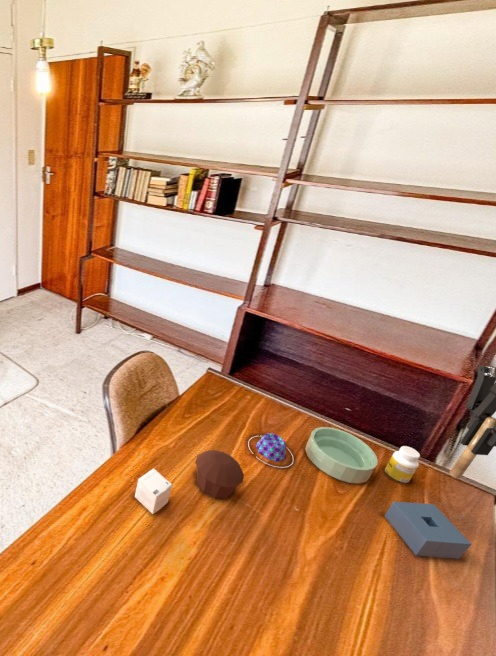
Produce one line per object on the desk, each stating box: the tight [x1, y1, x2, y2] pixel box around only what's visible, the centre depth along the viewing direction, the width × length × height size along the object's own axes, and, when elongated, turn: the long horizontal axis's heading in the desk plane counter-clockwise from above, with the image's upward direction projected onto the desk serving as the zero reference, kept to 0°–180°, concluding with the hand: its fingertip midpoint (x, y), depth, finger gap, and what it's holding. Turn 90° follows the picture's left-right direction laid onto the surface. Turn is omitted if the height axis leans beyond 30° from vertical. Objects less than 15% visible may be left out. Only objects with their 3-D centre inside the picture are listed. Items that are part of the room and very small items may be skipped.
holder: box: [384, 501, 472, 560], centre depth 93 cm, size 10×10×6 cm
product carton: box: [134, 468, 173, 515], centre depth 99 cm, size 6×6×7 cm
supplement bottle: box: [384, 445, 421, 484], centre depth 108 cm, size 5×5×10 cm
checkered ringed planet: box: [247, 432, 295, 469], centre depth 116 cm, size 12×12×5 cm
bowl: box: [304, 426, 379, 484], centre depth 113 cm, size 16×16×6 cm
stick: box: [449, 416, 496, 479], centre depth 83 cm, size 2×2×17 cm
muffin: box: [195, 449, 245, 500], centre depth 103 cm, size 12×11×10 cm
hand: (473, 448), depth 83 cm, fingers closed on stick, 2 cm apart
